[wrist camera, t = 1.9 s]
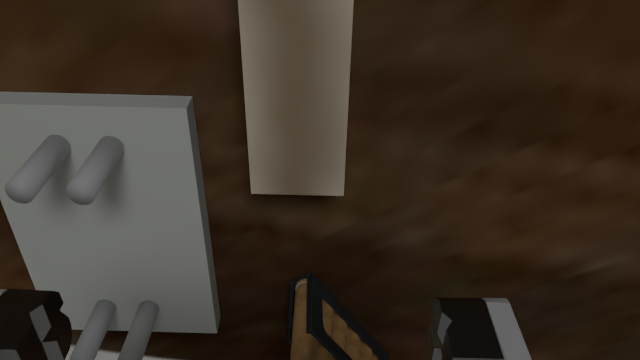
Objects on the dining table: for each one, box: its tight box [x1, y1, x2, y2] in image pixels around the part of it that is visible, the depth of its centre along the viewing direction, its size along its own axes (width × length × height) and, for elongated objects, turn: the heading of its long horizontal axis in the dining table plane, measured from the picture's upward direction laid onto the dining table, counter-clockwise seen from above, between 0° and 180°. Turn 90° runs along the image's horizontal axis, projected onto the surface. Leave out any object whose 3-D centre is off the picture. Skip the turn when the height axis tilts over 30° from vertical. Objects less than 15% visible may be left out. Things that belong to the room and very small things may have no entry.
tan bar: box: [238, 0, 354, 196], centre depth 26 cm, size 5×16×4 cm, turn 179°
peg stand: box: [0, 92, 221, 360], centre depth 33 cm, size 12×18×6 cm, turn 179°
